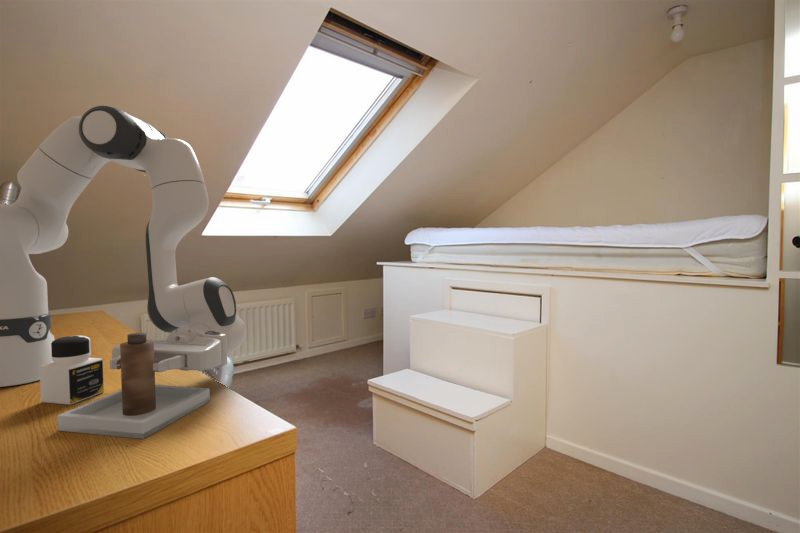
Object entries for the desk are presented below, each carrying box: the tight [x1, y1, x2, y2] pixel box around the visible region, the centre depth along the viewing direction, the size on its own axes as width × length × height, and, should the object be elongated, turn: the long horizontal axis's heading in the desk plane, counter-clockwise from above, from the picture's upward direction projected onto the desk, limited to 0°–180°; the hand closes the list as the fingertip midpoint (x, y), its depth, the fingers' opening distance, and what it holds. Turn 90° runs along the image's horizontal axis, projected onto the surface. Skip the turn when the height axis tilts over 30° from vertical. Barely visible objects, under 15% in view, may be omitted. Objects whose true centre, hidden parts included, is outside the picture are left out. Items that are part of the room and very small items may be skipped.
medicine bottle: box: [39, 335, 105, 406], centre depth 82 cm, size 7×7×12 cm
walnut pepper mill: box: [119, 332, 156, 416], centre depth 74 cm, size 5×5×14 cm
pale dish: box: [57, 384, 211, 440], centre depth 74 cm, size 16×16×2 cm
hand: (134, 366), depth 73 cm, fingers open, 7 cm apart
